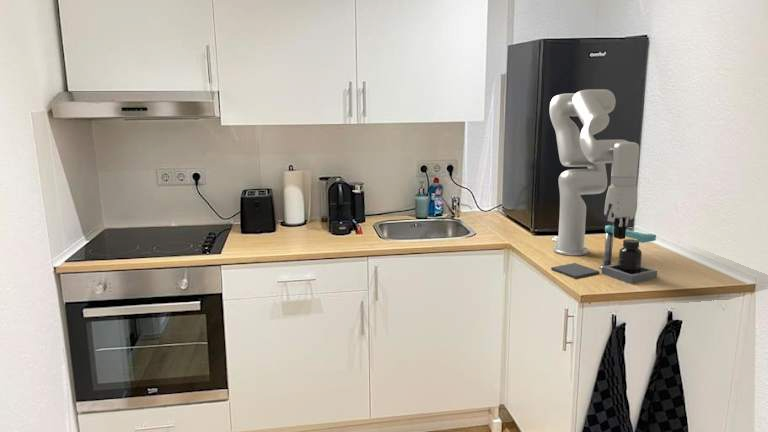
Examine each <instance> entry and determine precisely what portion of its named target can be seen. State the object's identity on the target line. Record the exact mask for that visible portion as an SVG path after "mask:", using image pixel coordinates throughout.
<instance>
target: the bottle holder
mask: <svg viewBox="0 0 768 432" xmlns="http://www.w3.org/2000/svg"><path fill="white" fill-rule="evenodd" d="M618 267H619V262H618V263H613V264H612V263H611V265H607V266H602V270H601V275H605V276H607V277H611V278H613V279H616V280H619V281H621V282H625V283H627V284H630V285H633V284H636V283H642V282H645V281H650V280H654V279H657V278H658V270H656V269H653V268H651V267H646V266H643V265H641V272H640V273H635V274H629V273H626V272H623V271H619V270H618Z"/></svg>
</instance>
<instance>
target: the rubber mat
mask: <svg viewBox="0 0 768 432" xmlns="http://www.w3.org/2000/svg"><path fill="white" fill-rule="evenodd" d="M550 269H551V271H554V272H557V273H558V274H561V275H565V276H566V277H570V278H573V279H580V278H585V277H588V276H589V277H590V276H593V275H599V274H600V270H596V269H594V268H590V267H588V266H585V265H583V264H580V263H577V262H573V263H572V262H571V263H567V264H562V265H558V266H552V267H551V268H550Z"/></svg>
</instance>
